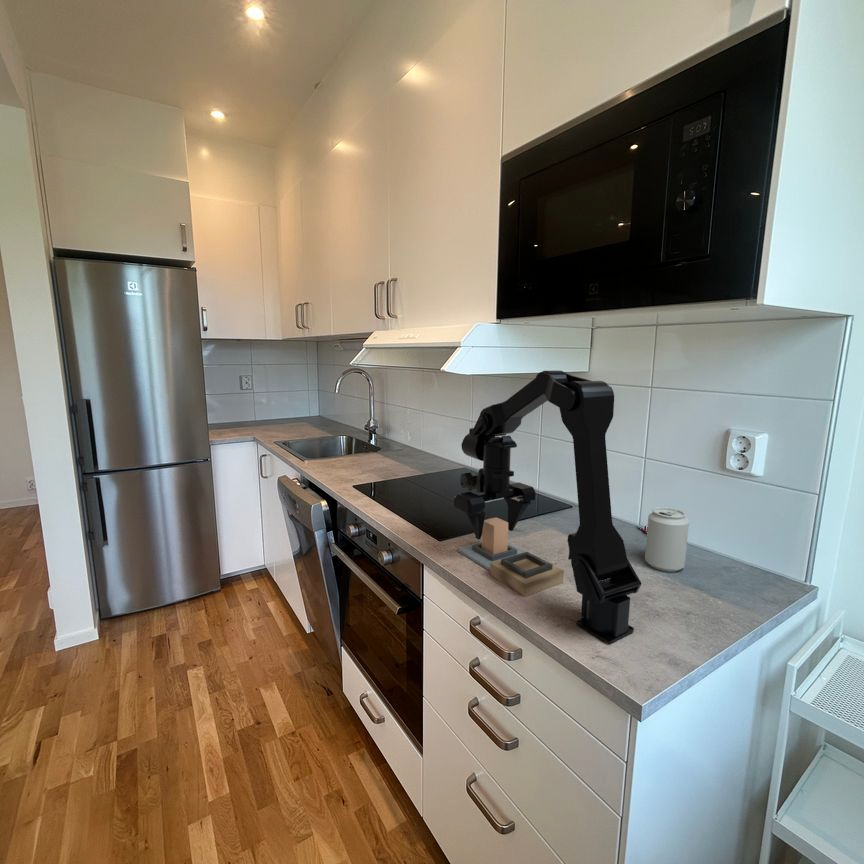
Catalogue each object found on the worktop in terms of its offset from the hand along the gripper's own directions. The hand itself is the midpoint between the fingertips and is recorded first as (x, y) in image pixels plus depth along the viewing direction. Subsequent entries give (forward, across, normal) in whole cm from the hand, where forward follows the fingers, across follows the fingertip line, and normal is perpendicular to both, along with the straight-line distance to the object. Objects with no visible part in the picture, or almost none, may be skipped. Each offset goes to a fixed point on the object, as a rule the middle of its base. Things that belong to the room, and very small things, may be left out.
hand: (494, 534), depth 100 cm
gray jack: (+5, 0, 0) cm, 5 cm away
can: (+5, -27, +23) cm, 36 cm away
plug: (+4, 0, 0) cm, 4 cm away
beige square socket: (+5, +2, +12) cm, 13 cm away
